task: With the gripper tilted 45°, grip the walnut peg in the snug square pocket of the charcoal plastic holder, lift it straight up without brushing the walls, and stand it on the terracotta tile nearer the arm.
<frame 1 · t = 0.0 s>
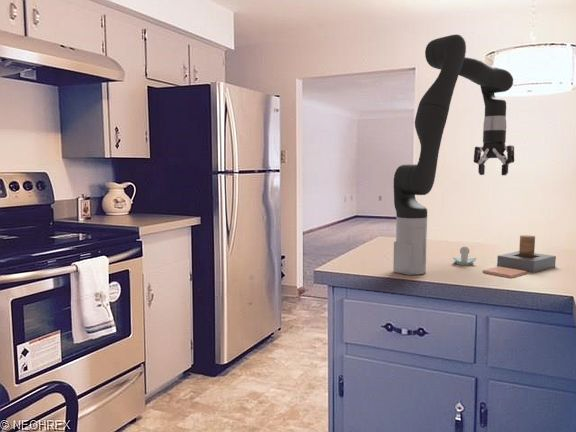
hand: (492, 175, 176), 29 cm above the counter, tool pointing down, fingers open, 8 cm apart
pocket holder: (526, 266, 160), on the counter
walnut peg: (526, 251, 159), in the pocket holder
pacifier: (463, 264, 164), on the counter
terracotta tile: (504, 273, 150), on the counter
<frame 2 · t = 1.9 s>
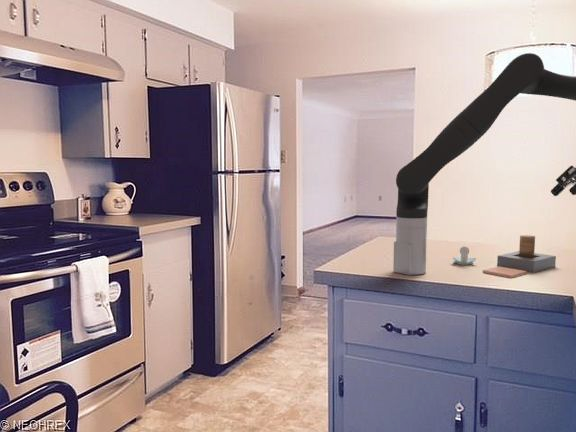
hand: (562, 193, 144), 25 cm above the counter, tool tilted 45°, fingers open, 8 cm apart
nothing on the counter moved.
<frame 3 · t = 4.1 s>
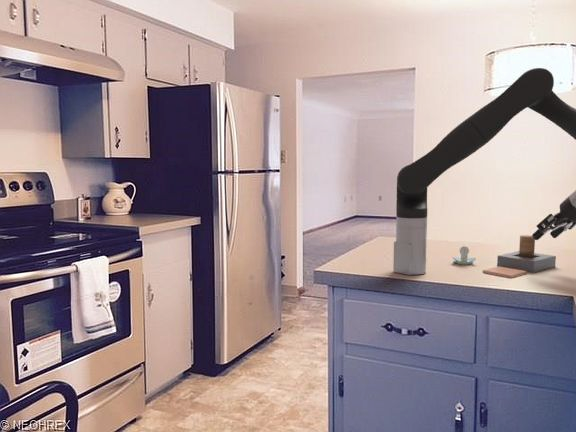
hand: (543, 236, 153), 10 cm above the counter, tool tilted 45°, fingers open, 8 cm apart
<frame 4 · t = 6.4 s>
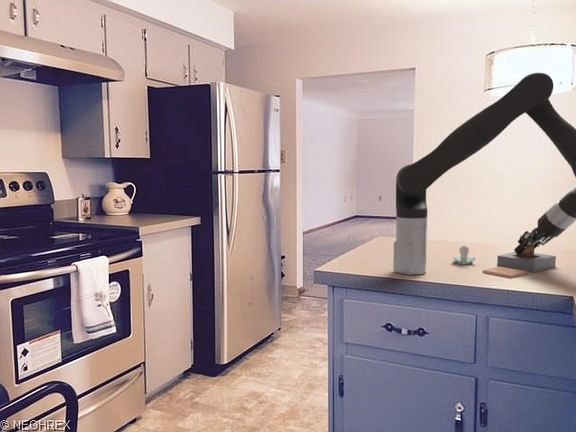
hand: (521, 251, 161), 5 cm above the counter, tool tilted 45°, fingers closed on walnut peg, 4 cm apart
walnut peg: (526, 251, 159), in the pocket holder, touching gripper
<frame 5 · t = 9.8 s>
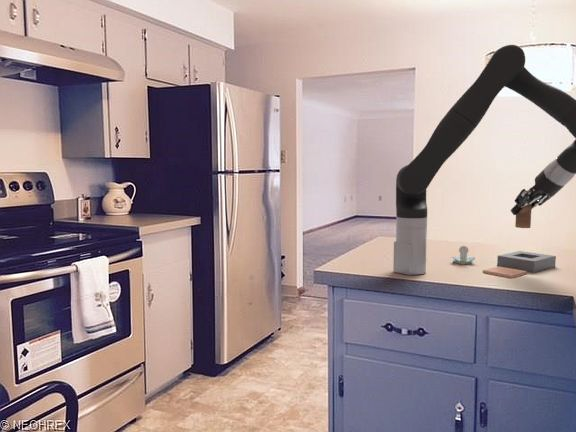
hand: (518, 212, 158), 18 cm above the counter, tool tilted 45°, fingers closed on walnut peg, 4 cm apart
walnut peg: (523, 211, 156), point 18 cm above the counter, touching gripper
when the fingers open (7 cm above the counter, at t = 13.0 s): walnut peg drops 2 cm, resting on terracotta tile.
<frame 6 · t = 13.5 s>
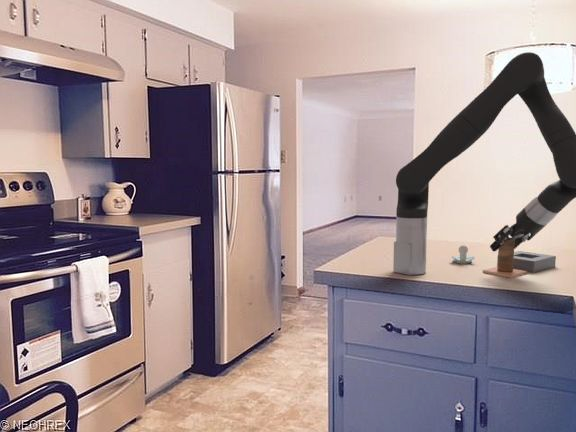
hand: (501, 247, 150), 8 cm above the counter, tool tilted 45°, fingers open, 8 cm apart
walnut peg: (505, 254, 149), on the terracotta tile, point 6 cm above the counter
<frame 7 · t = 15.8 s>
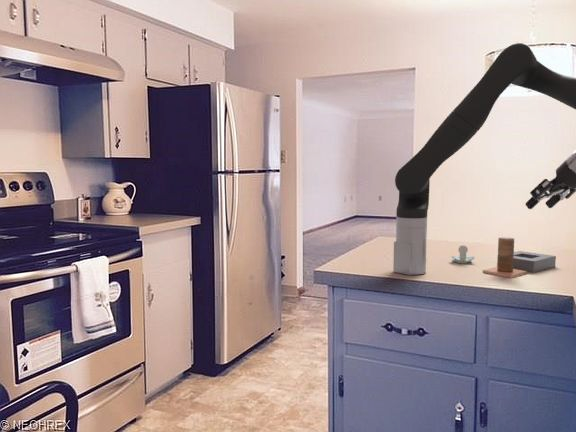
hand: (537, 206, 140), 21 cm above the counter, tool tilted 45°, fingers open, 8 cm apart
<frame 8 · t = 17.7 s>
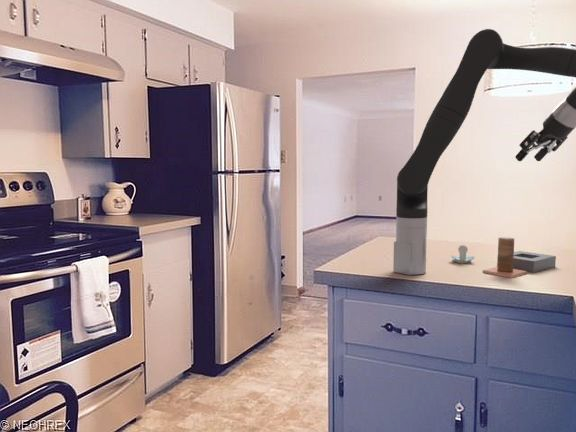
hand: (527, 159, 149), 35 cm above the counter, tool tilted 45°, fingers open, 8 cm apart
at the end: walnut peg 0.1 cm off-centre on the terracotta tile, point 5.8 cm above the terracotta tile's base; walnut peg tilted 0°; the gripper is holding nothing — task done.
